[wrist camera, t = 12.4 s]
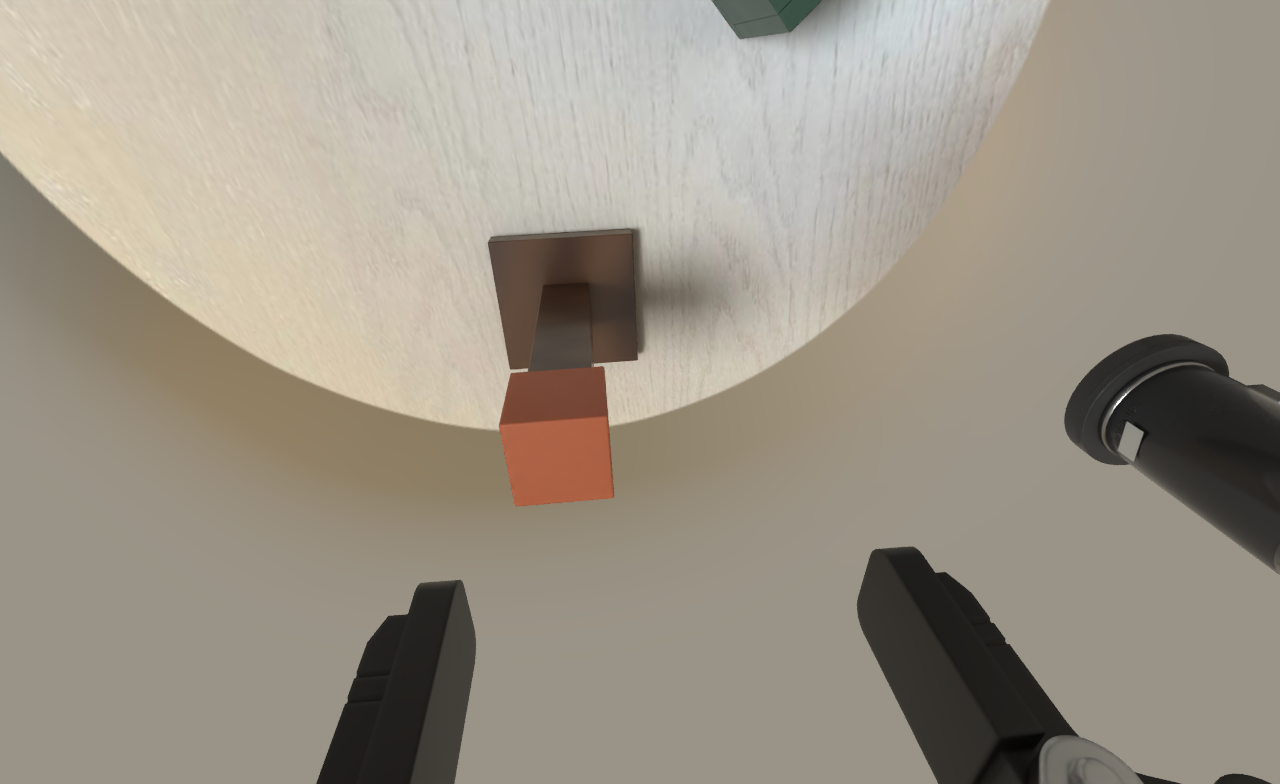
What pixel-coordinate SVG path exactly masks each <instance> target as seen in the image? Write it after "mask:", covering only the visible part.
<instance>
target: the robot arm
mask: <svg viewBox="0 0 1280 784" xmlns="http://www.w3.org/2000/svg"><path fill="white" fill-rule="evenodd" d="M1098 436H1099V440H1100V442H1101V443H1102V445H1103V446H1104V447H1105V448H1106V449H1108V450H1109V451H1110V452H1112V453H1113V454H1115V455H1117V456H1119V457H1121V458H1122V459H1124V460H1125V461H1126V462H1128V463H1129V464H1130V465H1132V466H1133V467H1135V468H1136V469H1137V470H1138V471H1140V472H1141V473H1143V474H1144V475H1145V476H1146V477H1147V478H1149V479H1150V480H1151V481H1153V482H1154V483H1156V484H1157V485H1158V486H1160V487H1161V488H1162V489H1164V490H1165V491H1167V492H1168V493H1169V494H1171V495H1172V496H1173V497H1175V498H1176V499H1177V500H1179V501H1180V502H1181V503H1183V504H1184V505H1185V506H1187V507H1188V508H1190V509H1191V510H1192V511H1194V512H1195V513H1196V514H1198V515H1199V516H1200V517H1202V518H1203V519H1204V520H1206V521H1207V522H1209V523H1210V524H1211V525H1213V526H1214V527H1215V528H1217V529H1218V530H1219V531H1221V532H1222V533H1224V534H1225V535H1226V536H1227V537H1229V538H1230V539H1232V540H1233V541H1234V542H1236V543H1237V544H1238V545H1240V546H1241V547H1242V548H1244V549H1245V550H1246V551H1248V552H1249V553H1251V554H1252V555H1253V556H1255V557H1256V558H1257V559H1259V560H1260V561H1261V562H1263V563H1264V564H1265V565H1267V566H1268V567H1270V568H1271V569H1272V570H1274V571H1275V572H1276V573H1278V574H1280V393H1279V392H1277V391H1275V390H1273V389H1271V388H1269V387H1267V386H1265V385H1263V384H1262V385H1250V386H1249V385H1248V386H1246V385H1244V384H1242V383H1240V382H1238V381H1236V380H1234V379H1232V378H1230V377H1228V376H1226V375H1224V374H1222V373H1217V372H1215V371H1214V370H1213V369H1212V368H1210V367H1208V366H1206V365H1204V364H1202V363H1200V362H1197V361H1193V360H1175V361H1170V362H1166V363H1163V364H1160V365H1157V366H1155V367H1153V368H1150V369H1148V370H1146V371H1145V372H1143V373H1141V374H1139V375H1138V376H1136V377H1135V378H1133V379H1132V380H1131V381H1129V382H1128V383H1127V384H1126V385H1124V386H1123V387H1122V388H1121V389H1120V390H1119V391H1118V392H1117V393H1116V394H1115V395H1114V397H1113V398H1112V399H1111V400H1110V402H1109V403H1108V404H1107V406H1106V407H1105V409H1104V411H1103V413H1102V415H1101V418H1100V421H1099V425H1098ZM857 611H858V618H859V622H860V625H861V628H862V631H863V633H864V635H865V637H866V639H867V641H868V643H869V645H870V647H871V649H872V651H873V653H874V655H875V657H876V659H877V661H878V663H879V665H880V667H881V669H882V671H883V673H884V675H885V677H886V679H887V681H888V683H889V685H890V687H891V689H892V691H893V693H894V695H895V697H896V699H897V701H898V703H899V705H900V707H901V709H902V711H903V713H904V715H905V717H906V719H907V721H908V723H909V725H910V727H911V729H912V731H913V733H914V735H915V738H916V740H917V742H918V744H919V746H920V748H921V750H922V751H923V754H924V756H925V758H926V760H927V762H928V764H929V765H930V767H931V770H932V772H933V774H934V776H935V777H936V780H937V782H938V784H1180V783H1176V782H1171V781H1167V780H1163V779H1159V778H1154V777H1150V776H1146V775H1143V774H1139V773H1136V772H1134V771H1133V770H1132V769H1131V768H1130V767H1129V766H1128V765H1127V764H1126V763H1124V762H1123V761H1122V760H1121V759H1120V758H1118V757H1117V756H1116V755H1114V754H1113V753H1112V752H1110V751H1108V750H1107V749H1106V748H1104V747H1102V746H1100V745H1098V744H1096V743H1094V742H1092V741H1090V740H1087V739H1084V738H1081V737H1079V736H1078V735H1077V734H1076V733H1075V732H1074V730H1073V729H1072V728H1071V727H1070V726H1069V724H1068V723H1067V722H1066V720H1065V719H1064V718H1063V716H1062V715H1061V714H1060V712H1059V711H1058V709H1057V708H1056V707H1055V705H1054V704H1053V703H1052V701H1051V700H1050V699H1049V697H1048V696H1047V695H1046V693H1045V692H1044V690H1043V689H1042V688H1041V686H1040V685H1039V684H1038V682H1037V681H1036V680H1035V679H1034V677H1033V676H1032V674H1031V673H1030V672H1029V670H1028V669H1027V668H1026V666H1025V665H1024V663H1023V662H1022V661H1021V660H1020V658H1019V657H1018V655H1017V654H1016V653H1015V651H1014V650H1013V648H1012V647H1011V646H1010V644H1006V642H1005V638H1004V636H1003V635H1002V634H1001V632H1000V631H999V630H998V628H997V627H996V625H995V624H994V623H991V622H990V618H989V616H988V615H987V613H986V612H985V610H984V609H983V608H982V606H981V605H980V604H979V602H978V601H977V600H976V598H975V597H974V596H973V594H972V593H971V592H970V591H968V590H967V589H966V588H965V587H964V586H962V585H961V584H960V583H959V582H957V581H956V580H955V579H954V578H952V577H951V576H950V575H949V574H947V573H946V572H941V573H935V572H934V571H933V569H932V568H931V566H930V565H929V563H928V562H927V560H926V559H925V558H924V556H923V555H922V553H921V552H920V551H919V550H918V549H916V548H914V547H898V548H886V549H876V550H874V551H872V553H871V555H870V558H869V562H868V565H867V569H866V572H865V575H864V579H863V583H862V586H861V589H860V593H859V596H858V601H857ZM475 653H476V638H475V630H474V625H473V621H472V617H471V613H470V609H469V605H468V601H467V597H466V593H465V588H464V585H463V582H462V581H461V580H455V581H441V582H428V583H420V584H419V585H418V586H417V588H416V590H415V593H414V596H413V600H412V603H411V606H410V609H409V613H408V614H407V615H394V616H388V617H387V618H386V620H385V621H384V622H383V623H382V625H381V626H380V627H379V629H378V630H377V631H376V632H375V633H374V635H373V636H372V637H371V639H370V640H369V641H368V642H367V645H366V648H365V650H364V653H363V656H362V659H361V661H360V664H359V667H358V670H357V677H356V678H355V679H354V681H353V684H352V686H351V689H350V692H349V695H348V702H347V704H345V706H344V708H343V711H342V714H341V717H340V720H339V722H338V725H337V728H336V731H335V733H334V736H333V739H332V742H331V744H330V748H329V750H328V753H327V756H326V759H325V761H324V764H323V767H322V769H321V772H320V775H319V778H318V781H317V784H454V781H455V776H456V769H457V764H458V759H459V752H460V746H461V741H462V735H463V729H464V723H465V717H466V712H467V705H468V700H469V693H470V688H471V682H472V677H473V671H474V665H475V655H476V654H475ZM1214 784H1271V783H1269V782H1266V781H1264V780H1262V779H1259V778H1256V777H1252V776H1248V775H1244V774H1228V775H1224V776H1222V777H1220V778H1219V779H1218V780H1217V781H1216V782H1215V783H1214Z"/></svg>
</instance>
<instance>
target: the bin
mask: <svg viewBox="0 0 1280 784" xmlns="http://www.w3.org/2000/svg"><path fill="white" fill-rule="evenodd" d="M821 1H822V0H712V2H713V3H714V4H715V6H716V7H717V9H718V10H719V11H720V13H721V14H722V15H723V17H724V18H725V20H726V21H727V22H728V24H729V25H730V26H731V28H732V29H733V31H734V32H735V33H736V35H737V36H738V38H739V39H744V38H750V37H757V36H765V35H772V34H780V33H787V32H792V31H793V29H794V28H795V27H796V26H797V25H798V24H799V23H800V22H801V21H802V20H803V19H804V18H805V17H806V16H807V15H808V14H809V13H810V12H811V11H812V10H813V9H814V8H815V7H816V6H817V5H818V4H819V3H820V2H821Z"/></svg>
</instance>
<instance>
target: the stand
mask: <svg viewBox="0 0 1280 784" xmlns="http://www.w3.org/2000/svg"><path fill="white" fill-rule="evenodd" d="M488 246H489V252H490V258H491V264H492V269H493V275H494V281H495V286H496V292H497V298H498V303H499V309H500V315H501V321H502V326H503V332H504V338H505V343H506V349H507V355H508V360H509V366H510V369H525V368H528V372H534V371H547V370H561V369H574V368H588V367H594V363H607V362H620V361H634V360H638V353H637V329H636V305H635V281H634V258H633V234H632V231H631V229H622V230H605V231H588V232H571V233H554V234H537V235H521V236H504V237H491V238H490V240H489V242H488Z"/></svg>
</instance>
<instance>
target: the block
mask: <svg viewBox="0 0 1280 784" xmlns="http://www.w3.org/2000/svg"><path fill="white" fill-rule="evenodd" d="M499 428H500V433H501V438H502V443H503V448H504V454H505V459H506V463H507V468H508V474H509V479H510V483H511V488H512V494H513V499H514V504H515V506H528V505H539V504H550V503H562V502H574V501H585V500H595V499H596V500H597V499H608V498H613V497H614V487H613V475H612V462H611V447H610V434H609V421H608V408H607V395H606V382H605V369H604V367H602V366H601V367H588V368H574V369H561V370H547V371H534V372H520V373H511V374H510V379H509V383H508V388H507V392H506V396H505V401H504V405H503V410H502V414H501V419H500V423H499Z"/></svg>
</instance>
